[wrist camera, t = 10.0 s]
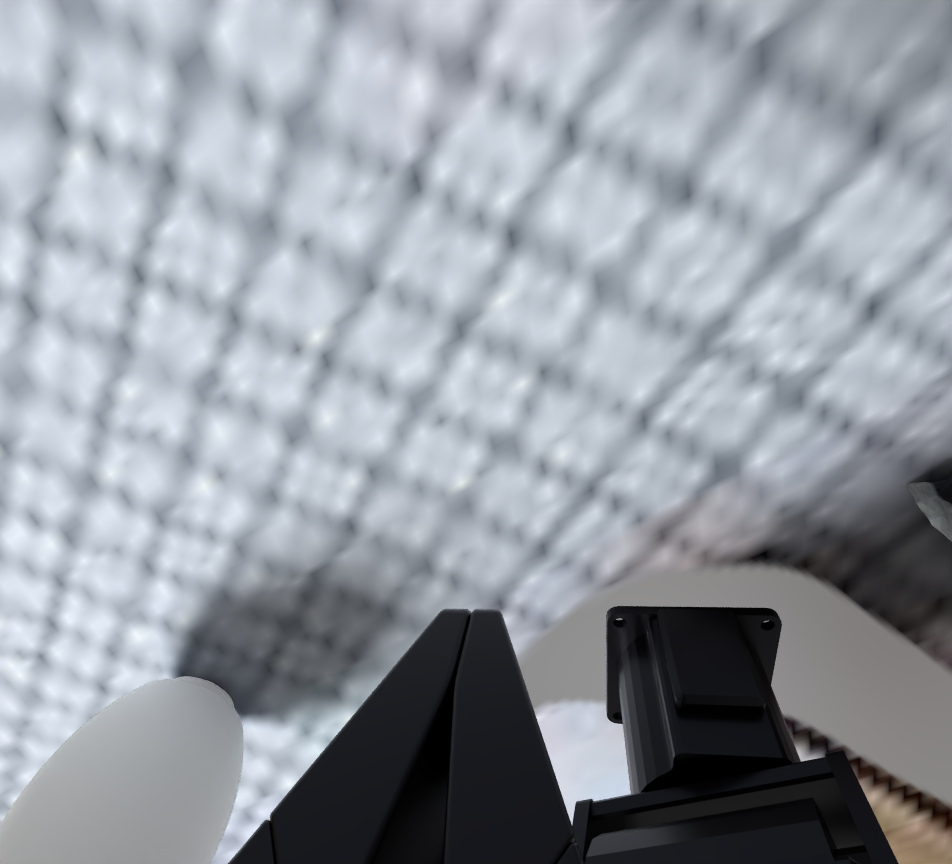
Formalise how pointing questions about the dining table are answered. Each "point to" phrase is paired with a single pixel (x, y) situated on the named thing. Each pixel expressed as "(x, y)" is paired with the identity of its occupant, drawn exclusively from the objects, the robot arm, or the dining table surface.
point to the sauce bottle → (135, 783)
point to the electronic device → (935, 503)
